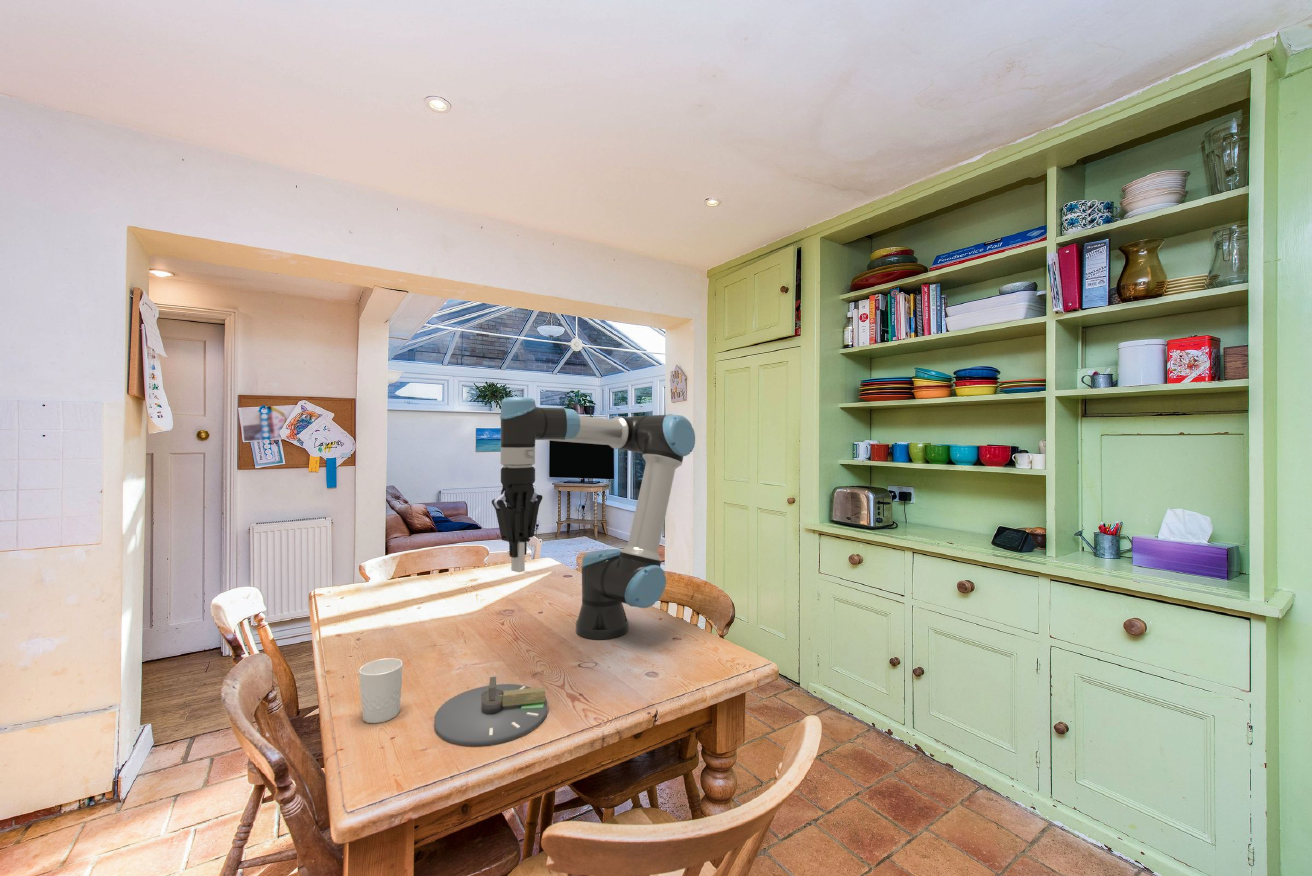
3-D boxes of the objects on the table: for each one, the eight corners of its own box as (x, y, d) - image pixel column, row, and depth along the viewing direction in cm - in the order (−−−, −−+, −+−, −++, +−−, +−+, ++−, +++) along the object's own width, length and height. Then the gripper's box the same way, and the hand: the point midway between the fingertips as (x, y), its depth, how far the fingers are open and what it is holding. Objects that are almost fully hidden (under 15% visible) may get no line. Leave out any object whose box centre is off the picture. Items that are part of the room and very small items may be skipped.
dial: (416, 714, 110) (416, 707, 110) (512, 680, 126) (512, 673, 126) (465, 761, 95) (465, 753, 95) (568, 715, 110) (568, 708, 110)
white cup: (369, 705, 114) (369, 658, 114) (408, 704, 115) (408, 657, 114) (352, 726, 106) (351, 675, 106) (393, 724, 107) (393, 674, 107)
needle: (480, 715, 107) (480, 689, 107) (482, 703, 112) (482, 678, 112) (545, 707, 110) (545, 682, 110) (544, 696, 115) (544, 671, 115)
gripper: (505, 468, 114) (505, 579, 115) (551, 465, 125) (550, 567, 125) (483, 467, 119) (483, 574, 119) (528, 464, 129) (528, 562, 130)
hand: (518, 570), depth 122 cm, fingers closed
